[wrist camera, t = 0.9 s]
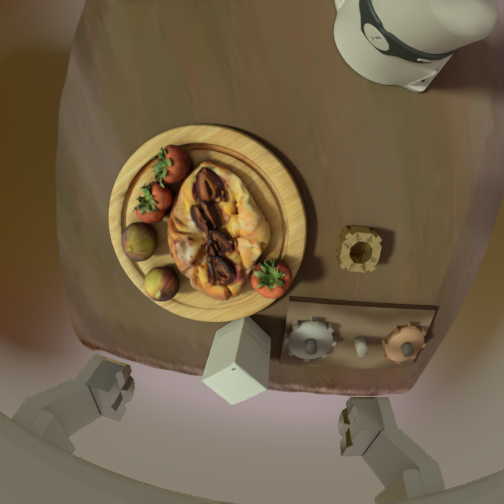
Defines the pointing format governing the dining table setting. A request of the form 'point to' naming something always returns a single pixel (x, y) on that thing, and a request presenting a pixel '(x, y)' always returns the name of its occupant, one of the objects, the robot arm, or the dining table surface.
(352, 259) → the brass gear
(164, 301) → the wooden plate with food
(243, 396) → the supplement box
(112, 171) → the dining table surface
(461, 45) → the robot arm
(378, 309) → the gear board
